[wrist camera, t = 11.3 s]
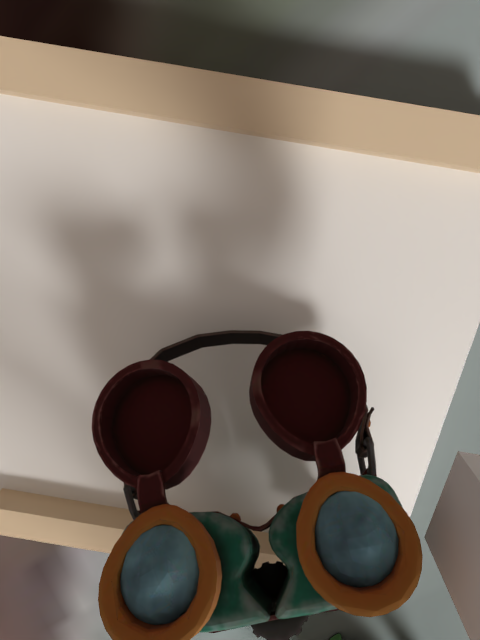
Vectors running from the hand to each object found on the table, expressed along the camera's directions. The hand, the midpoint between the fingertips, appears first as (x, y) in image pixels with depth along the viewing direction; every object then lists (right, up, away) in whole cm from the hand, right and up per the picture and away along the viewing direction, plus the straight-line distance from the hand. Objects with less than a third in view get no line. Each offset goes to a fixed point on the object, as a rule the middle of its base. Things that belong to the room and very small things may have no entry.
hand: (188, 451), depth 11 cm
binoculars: (+1, +2, +7) cm, 7 cm away
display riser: (0, +2, +8) cm, 8 cm away
